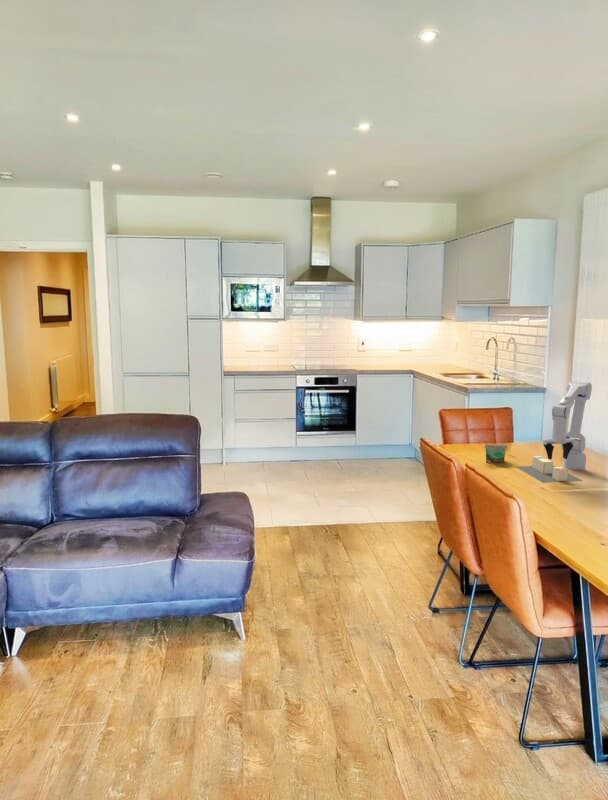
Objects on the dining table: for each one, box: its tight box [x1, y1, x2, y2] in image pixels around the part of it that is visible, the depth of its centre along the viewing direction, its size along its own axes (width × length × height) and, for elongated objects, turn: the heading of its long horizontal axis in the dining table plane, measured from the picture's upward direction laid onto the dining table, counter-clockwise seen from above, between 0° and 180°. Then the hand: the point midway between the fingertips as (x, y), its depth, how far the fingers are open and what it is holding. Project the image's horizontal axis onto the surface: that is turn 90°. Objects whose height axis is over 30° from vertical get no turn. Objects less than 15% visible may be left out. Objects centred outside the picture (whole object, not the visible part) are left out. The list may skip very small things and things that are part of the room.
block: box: [552, 466, 569, 481], centre depth 256 cm, size 4×5×5 cm
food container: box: [484, 442, 508, 465], centre depth 285 cm, size 12×6×10 cm, turn 105°
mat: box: [515, 465, 584, 484], centre depth 266 cm, size 20×26×1 cm
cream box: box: [531, 455, 554, 474], centre depth 271 cm, size 4×11×6 cm, turn 6°
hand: (557, 458), depth 259 cm, fingers open, 7 cm apart
